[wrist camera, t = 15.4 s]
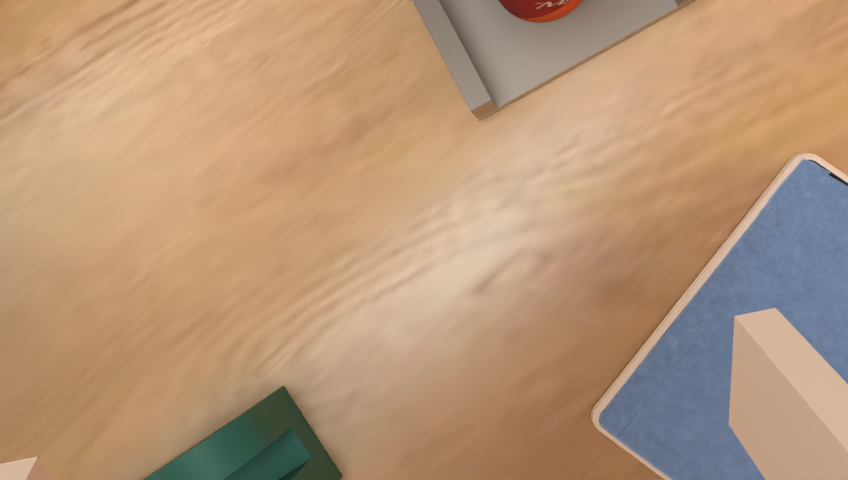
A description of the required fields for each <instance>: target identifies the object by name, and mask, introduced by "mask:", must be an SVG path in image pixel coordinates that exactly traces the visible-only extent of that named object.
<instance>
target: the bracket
mask: <svg viewBox="0 0 848 480" xmlns="http://www.w3.org/2000/svg"><path fill="white" fill-rule="evenodd" d="M341 477H342V475H341V473H340V472H339V470H338V469H337V467H336V466H335V464H334V463H333V461H332V459H331V458H330V456H329V455H328V453H327V452H326V450H325V449H324V447H323V446H322V444H321V443H320V441H319V440H318V438H317V436H316V435H315V433H314V432H313V430H312V429H311V427H310V426H309V424H308V423H307V421H306V420H305V418H304V416H303V415H302V413H301V412H300V410H299V409H298V407H297V406H296V404H295V403H294V401H293V400H292V398H291V397H290V395H289V393H288V392H287V390H286V389H285V387H284V386H283V387H281V388H280V389H278V390H277V391H275V392H274V393H272V394H271V395H269V396H268V397H266V398H265V399H263V400H262V401H260V402H259V403H257V404H256V405H254V406H253V407H251V408H250V409H248V410H247V411H245V412H244V413H242V414H241V415H239V416H238V417H236V418H235V419H233V420H232V421H230V422H229V423H227V424H226V425H224V426H223V427H222V428H220V429H219V430H217V431H216V432H214V433H213V434H211V435H210V436H208V437H207V438H205V439H204V440H202V441H201V442H199V443H198V444H196V445H195V446H193V447H192V448H190V449H189V450H187V451H186V452H184V453H183V454H181V455H180V456H178V457H177V458H175V459H174V460H172V461H171V462H169V463H168V464H166V465H165V466H163V467H162V468H160V469H159V470H157V471H156V472H155V473H153V474H152V475H150V476H149V477H147V478H146V479H144V480H340V479H341Z"/></svg>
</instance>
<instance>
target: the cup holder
mask: <svg viewBox="0 0 848 480" xmlns="http://www.w3.org/2000/svg"><path fill="white" fill-rule="evenodd" d="M693 1H695V0H582V1H581V3H580V4H579V5H578V6H577V7H576V8H575V9H574V10H572V11H571V12H570V13H568V14H567V15H565V16H563V17H561V18H559V19H557V20H553V21H549V22H542V23H536V22H529V21H525V20H522V19H520V18H518V17H516V16H514V15H513V14H511V13H510V12H508V11H507V10H506V9H505V8H504V7H503V6H502V4H501V3H500V2H499V0H413V2H414V4H415V6H416V8H417V10H418V12H419V14H420V16H421V17H422V19H423V21H424V23H425V25H426V27H427V29H428V31H429V33H430V34H431V36H432V38H433V40H434V42H435V44H436V46H437V48H438V50H439V51H440V53H441V55H442V57H443V59H444V61H445V63H446V65H447V67H448V68H449V70H450V72H451V74H452V76H453V78H454V80H455V82H456V84H457V86H458V87H459V89H460V91H461V93H462V95H463V97H464V99H465V101H466V103H467V104H468V106H469V108H470V110H471V112H472V113H473V114H474V115H475V116H476V117H477V118H478V119H479V121H480V120H482V119H484V118H486V117H487V116H489V115H491V114H493V113H495V112H496V111H498V110H500V109H502V108H504V107H505V106H507V105H509V104H511V103H512V102H514V101H516V100H518V99H520V98H521V97H523V96H525V95H527V94H529V93H530V92H532V91H534V90H536V89H538V88H539V87H541V86H543V85H545V84H546V83H548V82H550V81H552V80H554V79H555V78H557V77H559V76H561V75H563V74H564V73H566V72H568V71H570V70H572V69H573V68H575V67H577V66H579V65H581V64H582V63H584V62H586V61H588V60H589V59H591V58H593V57H595V56H597V55H598V54H600V53H602V52H604V51H606V50H607V49H609V48H611V47H613V46H615V45H616V44H618V43H620V42H622V41H623V40H625V39H627V38H629V37H631V36H632V35H634V34H636V33H638V32H640V31H641V30H643V29H645V28H647V27H649V26H650V25H652V24H654V23H656V22H657V21H659V20H661V19H663V18H665V17H666V16H668V15H670V14H672V13H674V12H675V11H677V10H679V9H681V8H683V7H684V6H686V5H688V4H690V3H692V2H693Z"/></svg>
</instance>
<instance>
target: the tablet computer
mask: <svg viewBox="0 0 848 480" xmlns="http://www.w3.org/2000/svg"><path fill="white" fill-rule="evenodd" d="M772 308H776V309H777V310H778V311H779V312H780V313H781V314H782V315H783V316H784V317H785V318H786V319H787V320H788V321H789V322H790V323H791V325H792V326H793V327H794V328H795V329H796V330H797V331H798V332H799V333H800V334H801V335H802V336H803V337H804V338H805V339H806V340H807V342H808V343H809V344H810V345H811V346H812V347H813V348H814V349H815V350H816V351H817V352H818V353H819V354H820V355H821V356H822V357H823V358H824V360H825V361H826V362H827V363H828V364H829V365H830V366H831V367H832V368H833V369H834V370H835V371H836V372H837V373H838V374H839V375H840V376H841V378H842V379H843V380H844V381H845V382H846V383H847V384H848V175H846V174H845V173H843V172H841V171H840V170H838V169H837V168H836V167H834V166H833V165H831V164H830V163H828V162H827V161H825V160H824V159H822V158H821V157H819V156H817V155H816V154H812V153H808V152H800V153H797V154H795V155H794V156H792V157H791V158H790V159H789V160H788V161H787V163H786V164H785V165H784V166H783V168H782V169H781V170H780V172H779V173H778V174H777V176H776V177H775V178H774V179H773V181H772V182H771V183H770V184H769V186H768V187H767V188H766V190H765V191H764V192H763V194H762V195H761V196H760V197H759V199H758V200H757V201H756V203H755V204H754V205H753V207H752V208H751V209H750V210H749V212H748V213H747V214H746V216H745V217H744V218H743V219H742V221H741V222H740V223H739V224H738V226H737V227H736V228H735V229H734V231H733V232H732V233H731V234H730V236H729V237H728V238H727V240H726V241H725V242H724V243H723V245H722V246H721V247H720V248H719V250H718V251H717V252H716V253H715V255H714V256H713V257H712V258H711V260H710V261H709V262H708V263H707V265H706V266H705V267H704V268H703V270H702V271H701V272H700V274H699V275H698V276H697V277H696V279H695V280H694V281H693V282H692V284H691V285H690V286H689V288H688V289H687V290H686V291H685V293H684V294H683V295H682V296H681V298H680V299H679V300H678V301H677V303H676V304H675V305H674V306H673V308H672V309H671V310H670V312H669V313H668V314H667V315H666V317H665V318H664V319H663V320H662V322H661V323H660V324H659V325H658V327H657V328H656V329H655V331H654V332H653V333H652V334H651V336H650V337H649V338H648V339H647V341H646V342H645V343H644V345H643V346H642V347H641V348H640V350H639V351H638V352H637V353H636V355H635V356H634V357H633V358H632V360H631V361H630V362H629V363H628V365H627V366H626V367H625V368H624V370H623V371H622V372H621V374H620V375H619V376H618V377H617V379H616V380H615V381H614V382H613V384H612V385H611V386H610V387H609V389H608V390H607V391H606V392H605V394H604V395H603V396H602V397H601V398H600V400H599V401H598V402H597V403H596V405H595V406H594V407H593V410H592V412H591V420H592V423H593V424H594V426H595V427H596V428H597V429H598V430H599V431H600V432H601V433H602V434H604V435H605V436H606V437H608V438H609V439H611V440H612V441H613V442H615V443H616V444H617V445H619V446H620V447H621V448H622V449H624V450H625V451H627V452H628V453H629V454H631V455H632V456H633V457H635V458H636V459H638V460H639V461H640V462H641V463H643V464H644V465H646V466H647V467H648V468H650V469H651V470H652V471H654V472H655V473H656V474H658V475H659V476H660V477H662V478H663V479H664V480H765V478H764V477H763V475H762V474H761V472H760V471H759V469H758V468H757V466H756V465H755V463H754V462H753V460H752V459H751V457H750V456H749V454H748V453H747V451H746V450H745V448H744V447H743V445H742V444H741V442H740V441H739V439H738V438H737V436H736V435H735V433H734V432H733V430H732V429H731V427H730V426H729V408H730V390H731V371H732V353H733V334H734V316H737V315H742V314H747V313H752V312H757V311H762V310H767V309H772Z"/></svg>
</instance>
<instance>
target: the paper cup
mask: <svg viewBox="0 0 848 480" xmlns="http://www.w3.org/2000/svg"><path fill="white" fill-rule="evenodd" d="M581 1H582V0H499V2H500V3H501V4H502V6H503V7H504V8H505V9H506V10H507V11H508V12H510V13H511V14H513V15H514V16H516V17H518V18H520V19H522V20H525V21H529V22H536V23H542V22H549V21H553V20H557V19H559V18H561V17H563V16H565V15H567V14H568V13H570V12H571V11H572V10H574V9H575V8H576V7H577V6H578V5H579V4H580V3H581Z"/></svg>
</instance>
